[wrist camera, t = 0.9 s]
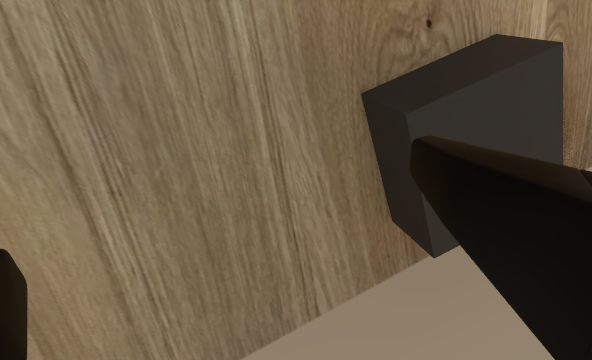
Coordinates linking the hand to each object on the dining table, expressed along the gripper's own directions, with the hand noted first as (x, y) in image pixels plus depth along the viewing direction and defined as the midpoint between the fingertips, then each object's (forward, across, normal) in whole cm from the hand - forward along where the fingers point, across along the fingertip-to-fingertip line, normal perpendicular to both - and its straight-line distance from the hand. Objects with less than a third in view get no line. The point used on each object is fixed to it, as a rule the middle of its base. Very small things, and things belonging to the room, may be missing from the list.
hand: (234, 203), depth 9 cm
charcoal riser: (+14, -16, +9) cm, 23 cm away
